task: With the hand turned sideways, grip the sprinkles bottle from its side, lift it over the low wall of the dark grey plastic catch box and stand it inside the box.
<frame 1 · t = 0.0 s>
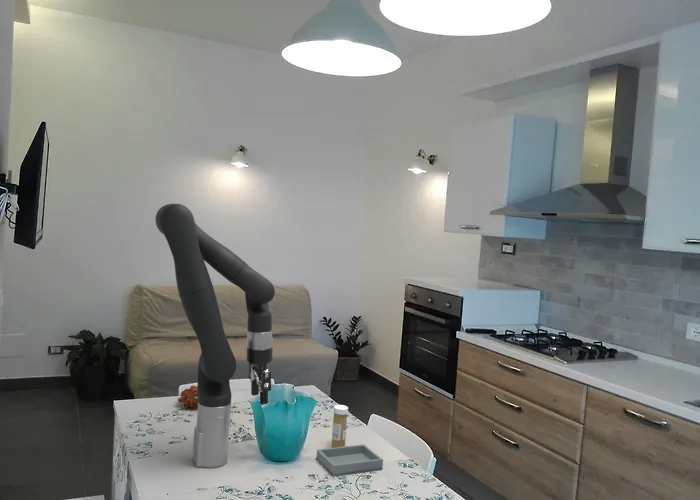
hand: (259, 399, 172), 17 cm above the table, tool pointing down, fingers open, 8 cm apart
sprinkles bottle: (337, 449, 184), on the table
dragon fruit: (191, 407, 212), on the table
catch box: (348, 464, 172), on the table
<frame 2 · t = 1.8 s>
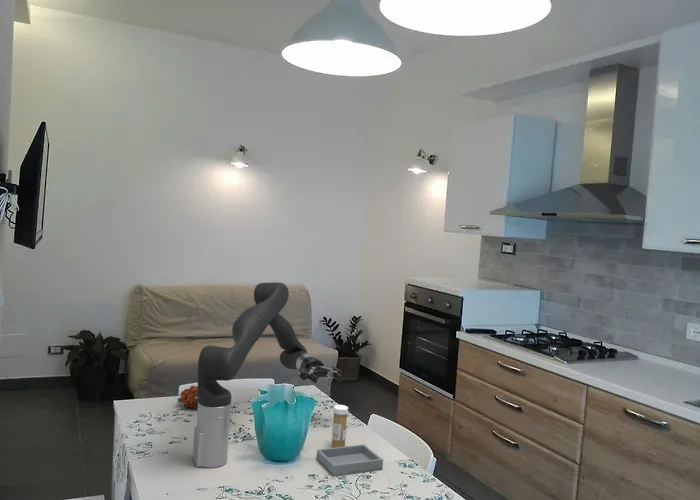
hand: (328, 379, 193), 19 cm above the table, tool horizontal, fingers open, 8 cm apart
nothing on the table moved.
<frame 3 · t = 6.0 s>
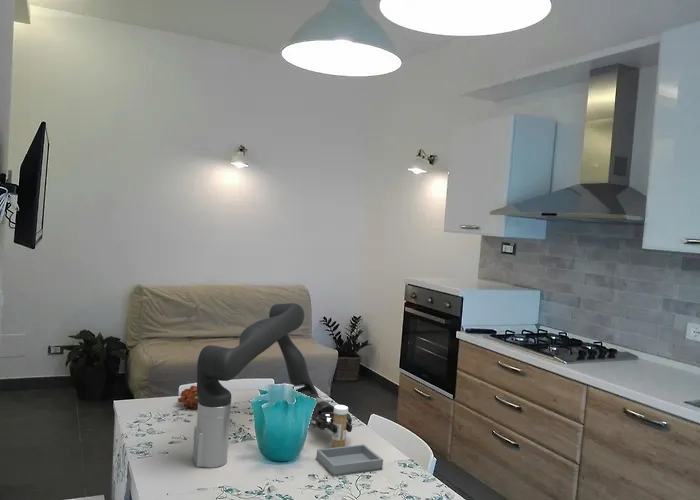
hand: (343, 429, 181), 7 cm above the table, tool horizontal, fingers closed on sprinkles bottle, 4 cm apart
sprinkles bottle: (337, 449, 184), on the table, touching gripper
everything else where it was.
when the fingers open (9 cm above the table, at t = 11.3 s): sprinkles bottle drops 1 cm, resting on catch box.
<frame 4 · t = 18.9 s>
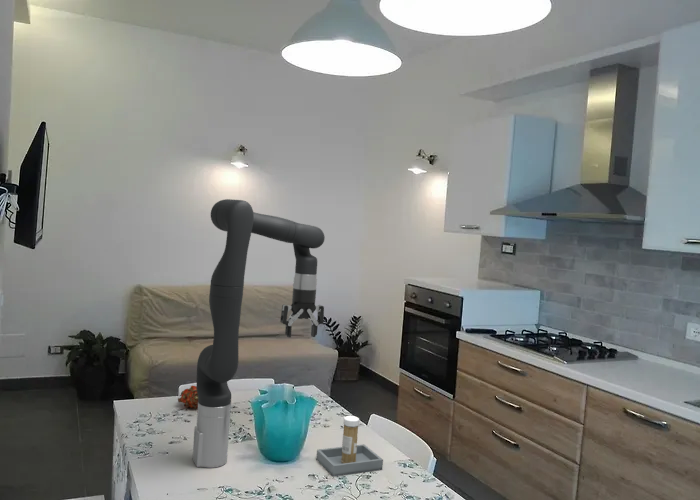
hand: (301, 336, 190), 33 cm above the table, tool pointing down, fingers open, 8 cm apart
sprinkles bottle: (348, 463, 172), resting on catch box
everything else where it was.
at the end: sprinkles bottle inside the target area on the catch box (0.2 cm from its centre), point 0.4 cm above the catch box's base; sprinkles bottle tilted 0°; the gripper is holding nothing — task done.
